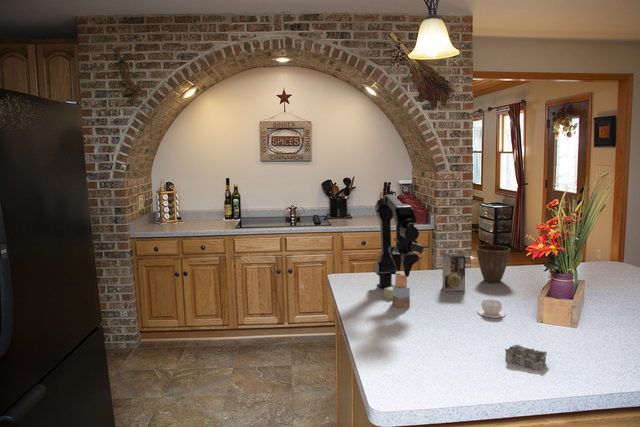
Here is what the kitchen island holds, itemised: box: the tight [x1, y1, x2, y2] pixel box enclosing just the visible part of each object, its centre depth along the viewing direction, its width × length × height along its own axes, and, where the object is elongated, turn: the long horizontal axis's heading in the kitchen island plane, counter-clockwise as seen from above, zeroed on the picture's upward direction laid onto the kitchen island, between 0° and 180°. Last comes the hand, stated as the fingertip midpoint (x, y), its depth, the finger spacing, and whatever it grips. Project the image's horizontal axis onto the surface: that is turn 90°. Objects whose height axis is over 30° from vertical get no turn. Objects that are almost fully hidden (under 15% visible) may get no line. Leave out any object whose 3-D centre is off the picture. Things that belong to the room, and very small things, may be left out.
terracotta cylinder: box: [394, 272, 408, 288], centre depth 186 cm, size 5×5×5 cm
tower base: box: [391, 295, 411, 309], centre depth 187 cm, size 6×6×4 cm
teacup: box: [477, 298, 506, 319], centre depth 176 cm, size 10×10×5 cm
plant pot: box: [476, 244, 511, 284], centre depth 218 cm, size 15×15×16 cm
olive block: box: [383, 287, 393, 300], centre depth 198 cm, size 4×4×4 cm
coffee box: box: [442, 252, 466, 292], centre depth 207 cm, size 9×6×16 cm
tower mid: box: [393, 285, 411, 299], centre depth 187 cm, size 5×5×4 cm
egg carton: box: [504, 344, 548, 370], centre depth 136 cm, size 11×8×4 cm
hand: (402, 273), depth 188 cm, fingers open, 9 cm apart
